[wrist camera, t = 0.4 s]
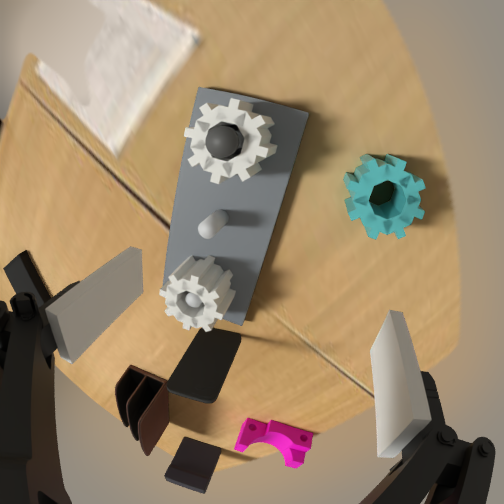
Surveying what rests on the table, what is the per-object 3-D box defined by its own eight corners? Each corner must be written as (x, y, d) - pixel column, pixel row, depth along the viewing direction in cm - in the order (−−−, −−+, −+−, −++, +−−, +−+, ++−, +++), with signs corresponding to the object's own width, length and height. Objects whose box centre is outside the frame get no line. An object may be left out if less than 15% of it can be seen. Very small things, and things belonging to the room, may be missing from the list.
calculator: (185, 441, 71) (165, 481, 57) (184, 435, 69) (163, 476, 56) (221, 452, 69) (204, 494, 56) (221, 446, 67) (204, 490, 54)
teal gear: (356, 141, 32) (362, 143, 27) (421, 169, 31) (438, 177, 26) (332, 209, 36) (334, 223, 31) (396, 233, 35) (406, 252, 30)
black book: (49, 334, 67) (43, 339, 65) (10, 263, 61) (3, 268, 58) (72, 329, 62) (64, 336, 60) (27, 249, 56) (18, 254, 53)
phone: (201, 328, 50) (163, 390, 36) (201, 324, 49) (162, 387, 36) (243, 337, 48) (214, 405, 35) (243, 333, 48) (214, 402, 34)
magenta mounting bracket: (313, 432, 56) (309, 459, 49) (300, 443, 59) (295, 468, 52) (251, 412, 57) (242, 439, 50) (242, 423, 60) (233, 449, 53)
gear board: (203, 88, 34) (171, 80, 26) (309, 113, 32) (304, 108, 25) (165, 289, 48) (139, 319, 40) (244, 320, 47) (228, 356, 39)
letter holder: (168, 380, 59) (139, 427, 46) (169, 421, 68) (148, 461, 55) (130, 363, 60) (98, 405, 48) (137, 407, 69) (114, 443, 56)
